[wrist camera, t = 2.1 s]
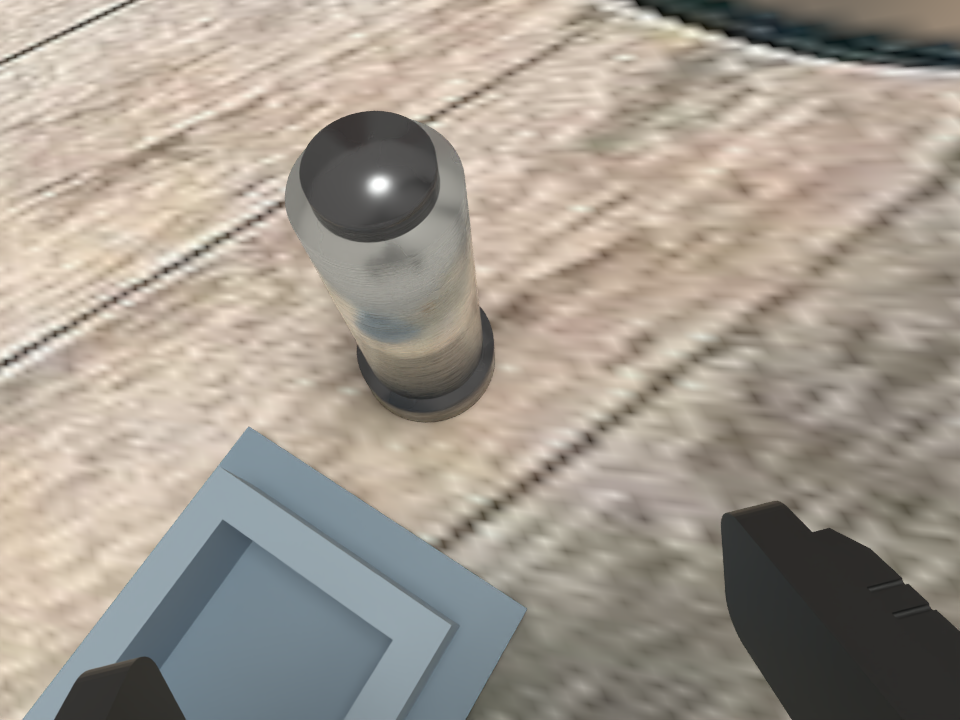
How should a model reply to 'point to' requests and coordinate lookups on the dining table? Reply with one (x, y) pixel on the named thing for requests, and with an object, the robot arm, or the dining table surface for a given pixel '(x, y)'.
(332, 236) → the thermos
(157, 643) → the dock
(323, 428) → the dining table surface
